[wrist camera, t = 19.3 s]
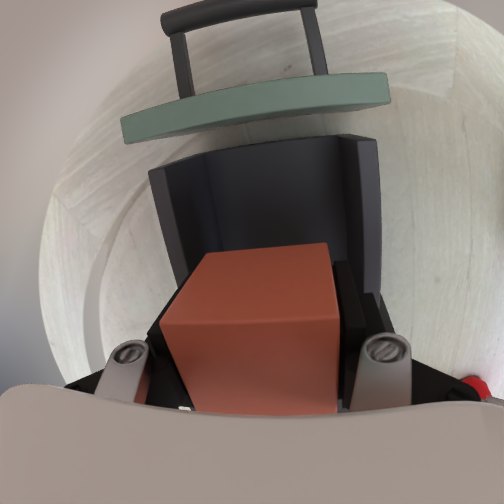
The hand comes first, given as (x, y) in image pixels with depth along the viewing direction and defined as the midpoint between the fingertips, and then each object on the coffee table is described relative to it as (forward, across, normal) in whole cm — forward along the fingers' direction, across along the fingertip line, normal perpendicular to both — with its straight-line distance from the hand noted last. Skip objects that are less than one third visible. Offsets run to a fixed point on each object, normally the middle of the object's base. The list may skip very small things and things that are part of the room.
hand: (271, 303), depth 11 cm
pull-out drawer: (+8, 0, -4) cm, 9 cm away
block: (0, 0, 0) cm, 0 cm away
